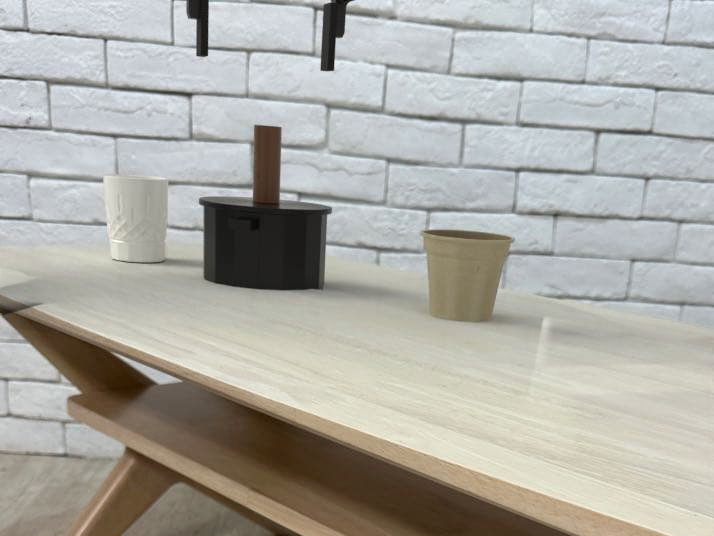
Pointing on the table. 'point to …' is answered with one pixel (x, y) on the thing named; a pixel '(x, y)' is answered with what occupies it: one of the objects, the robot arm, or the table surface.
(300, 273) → the pot
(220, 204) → the pot lid
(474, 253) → the flower pot
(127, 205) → the white cup
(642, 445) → the table surface
